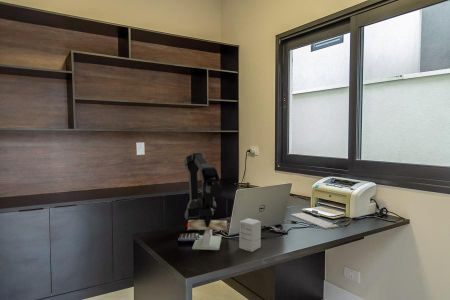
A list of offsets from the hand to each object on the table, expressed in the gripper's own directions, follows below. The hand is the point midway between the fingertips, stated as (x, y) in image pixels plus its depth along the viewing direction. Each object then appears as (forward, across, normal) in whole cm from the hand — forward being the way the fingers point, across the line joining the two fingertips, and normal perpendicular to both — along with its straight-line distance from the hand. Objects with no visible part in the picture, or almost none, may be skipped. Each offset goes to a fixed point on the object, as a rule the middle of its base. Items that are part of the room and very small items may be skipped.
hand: (207, 225), depth 149 cm
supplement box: (+9, +4, +20) cm, 22 cm away
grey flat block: (+9, -44, +60) cm, 75 cm away
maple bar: (+1, 0, 0) cm, 1 cm away
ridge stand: (+8, 0, 0) cm, 9 cm away
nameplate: (+9, -28, +32) cm, 44 cm away
